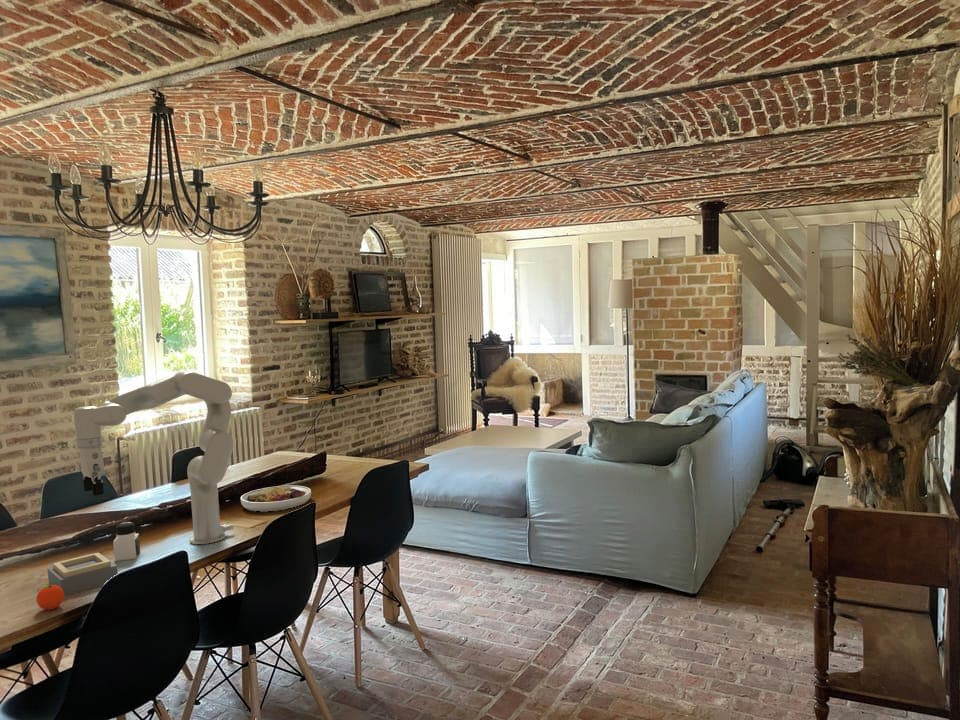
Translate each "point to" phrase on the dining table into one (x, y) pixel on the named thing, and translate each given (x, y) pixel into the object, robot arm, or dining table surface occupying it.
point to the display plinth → (81, 573)
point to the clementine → (50, 597)
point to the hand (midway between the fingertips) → (93, 492)
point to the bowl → (275, 498)
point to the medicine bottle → (126, 542)
